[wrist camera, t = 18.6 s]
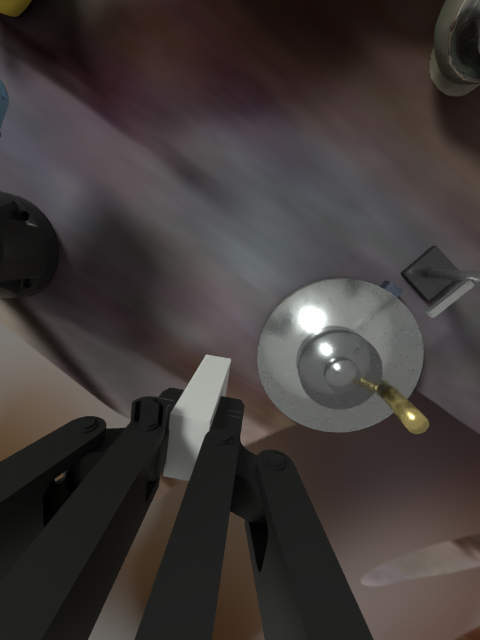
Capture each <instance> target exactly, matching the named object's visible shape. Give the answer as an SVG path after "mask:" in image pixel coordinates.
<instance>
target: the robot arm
mask: <svg viewBox="0 0 480 640" xmlns="http://www.w3.org/2000/svg"><path fill="white" fill-rule="evenodd" d="M8 104H9V98H8V93H7V90H6V88H5V86H4V85H3V83H2V81H1V80H0V128H1V126H2V123H3V120H4V117H5V114H6V111H7V108H8ZM0 137H1V132H0ZM57 261H58V247H57V241H56V237H55V234H54V231H53V229H52V227H51V225H50V223H49V222H48V220H47V218H46V217H45V216H44V214H43V213H42V212H41V211H40V210H39V209H38V208H37V207H36V206H35V205H33V204H32V203H31V202H29V201H27V200H26V199H24V198H22V197H19V196H16V195H12V194H8V193H5V192H0V298H18V297H25V296H30V295H33V294H35V293H37V292H39V291H40V290H42V289H43V288H44V287H45V286H46V285H47V284H48V283H49V282H50V280H51V279H52V277H53V275H54V273H55V270H56V266H57ZM230 363H231V359H228V358H223V357H217V356H211V355H206V356H205V357H204V359H203V361H202V362H201V364H200V366H199V367H198V369H197V371H196V372H195V374H194V376H193V377H192V379H191V380H190V382H189V384H188V385H187V387H186V389H185V390H181V389H176V388H169V389H167V390H165V391H163V392H162V393H161V395H160V396H159V398H158V397H142V398H139V399H136V400H135V401H133V402H132V411H131V422H130V423H129V425H128V426H127V427H126V428H113V429H106V423H105V421H104V420H103V419H101V418H99V417H95V416H86V417H81V418H77V419H75V420H73V421H71V422H69V423H67V424H65V425H64V426H62V427H60V428H58V429H57V430H55V431H53V432H52V433H50V434H48V435H46V436H44V437H43V438H41V439H39V440H38V441H36V442H34V443H32V444H31V445H29V446H27V447H25V448H24V449H22V450H20V451H18V452H17V453H15V454H13V455H12V456H10V457H8V458H6V459H5V460H3V461H1V462H0V640H88V638H89V636H90V634H91V632H92V629H93V627H94V625H95V623H96V621H97V619H98V617H99V614H100V612H101V610H102V608H103V606H104V603H105V602H106V599H107V597H108V595H109V593H110V591H111V589H112V586H113V584H114V582H115V580H116V577H117V575H118V573H119V571H120V569H121V567H122V565H123V563H124V560H125V558H126V556H127V554H128V552H129V550H130V547H131V545H132V543H133V541H134V539H135V537H136V534H137V532H138V530H139V528H140V526H141V524H142V521H143V519H144V517H145V515H146V512H147V511H148V508H149V506H150V504H151V502H152V500H153V498H154V495H155V493H156V491H157V489H158V487H159V482H160V474H161V472H162V470H163V468H164V475H163V476H165V477H170V478H175V479H180V480H185V481H189V483H188V486H187V489H186V492H185V495H184V498H183V501H182V504H181V506H180V509H179V512H178V515H177V518H176V521H175V524H174V527H173V530H172V533H171V535H170V538H169V541H168V545H167V547H166V550H165V553H164V556H163V559H162V562H161V564H160V567H159V570H158V573H157V576H156V579H155V582H154V585H153V588H152V591H151V594H150V596H149V599H148V602H147V605H146V608H145V611H144V614H143V617H142V620H141V623H140V626H139V628H138V631H137V634H136V638H135V640H212V634H213V626H214V619H215V612H216V605H217V598H218V591H219V584H220V577H221V570H222V563H223V556H224V549H225V542H226V535H227V528H228V521H229V514H230V511H231V512H233V513H234V514H236V515H238V516H240V517H242V518H244V519H245V529H246V534H247V540H248V545H249V551H250V558H251V563H252V569H253V575H254V580H255V586H256V591H257V597H258V603H259V609H260V614H261V620H262V626H263V632H264V637H265V640H373V637H372V635H371V633H370V631H369V629H368V626H367V624H366V622H365V620H364V617H363V615H362V613H361V611H360V609H359V606H358V604H357V602H356V600H355V598H354V595H353V593H352V591H351V589H350V587H349V584H348V582H347V580H346V578H345V575H344V573H343V571H342V569H341V567H340V564H339V562H338V560H337V558H336V556H335V553H334V551H333V549H332V547H331V544H330V542H329V540H328V538H327V536H326V533H325V531H324V529H323V527H322V525H321V522H320V520H319V518H318V516H317V514H316V512H315V509H314V507H313V505H312V502H311V500H310V498H309V496H308V494H307V492H306V489H305V487H304V485H303V483H302V481H301V478H300V476H299V474H298V472H297V469H296V467H295V465H294V463H293V461H292V460H291V459H290V457H288V456H287V455H286V454H284V453H282V452H279V451H277V450H264V451H262V452H260V453H259V454H258V455H255V454H253V453H251V452H250V451H248V450H247V449H245V448H244V447H243V445H242V444H241V441H240V434H241V426H242V419H243V412H244V404H243V403H242V401H241V400H239V399H234V398H229V397H225V395H226V389H227V383H228V376H229V370H230ZM62 473H64V474H63V477H62V478H61V479H59V480H57V481H55V478H57V477H58V476H59V475H61V474H62Z"/></svg>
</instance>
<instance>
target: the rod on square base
mask: <svg viewBox="0 0 480 640" xmlns="http://www.w3.org/2000/svg"><path fill="white" fill-rule="evenodd" d="M401 274H402V275H403V276H404V278H405V279H406V280H407V281H408V282H409V283H410V284H411V285H412V286H413V287H414V289H415V290H416V291H417V292H418V293H419V294H420V295H421V296H422V297H423V298H424V300H428V301H429V300H430V299H431V298H433V297H434V296H435V295H436V294H438V293H439V292H440V291H441V290H443V289H444V288H445V287H446V286H448V285H449V284H450V283H451V282H452V281H460V282H461V283H459V284H458V285H457V286H456V287H454V288H453V289H452V290H451V291H449V292H448V293H447V294H446V295H444V296H443V297H442V298H441V299H439V300H438V301H437V302H436V303H434V304H433V305H432V306H431V307H430V308H428V309H427V310H426V311H425V313H426V314H427V315H428V316H429V317H432V318H434V317H436V316H437V315H438V314H439V313H441V312H442V311H443V310H444V309H446V308H447V307H448V306H449V305H451V304H452V303H453V302H455V301H456V300H457V299H458V298H460V297H461V296H462V295H463V294H465V293H466V292H467V291H468V290H470V289H471V288H472V287H473V286H475V284H474V283H479V284H480V271H461V270H458V269H457V268H456V267H455V266H454V265H453V264H452V263H451V262H450V260H449V259H448V258H447V257H446V256H445V255H444V254H443V253H442V251H441V250H440V249H439V248H438V247H437V246H432V247H431V248H429V249H428V250H427V251H426V252H425V253H424V254H422V255H421V256H420V257H419V258H418V259H417V260H415V261H414V262H413V263H412V264H411V265H410V266H408V267H407V268H406V269H405V270H404V271H403V272H401Z"/></svg>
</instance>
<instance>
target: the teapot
mask: <svg viewBox="0 0 480 640" xmlns="http://www.w3.org/2000/svg"><path fill="white" fill-rule="evenodd" d="M31 1H32V0H0V13H2V14H5V15H8V16H12V17H17V16H19V15H20V14H21V13H22V12H23V11H24V10H25V9H26V8H27V7H28V5H29V4H30V3H31Z"/></svg>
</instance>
